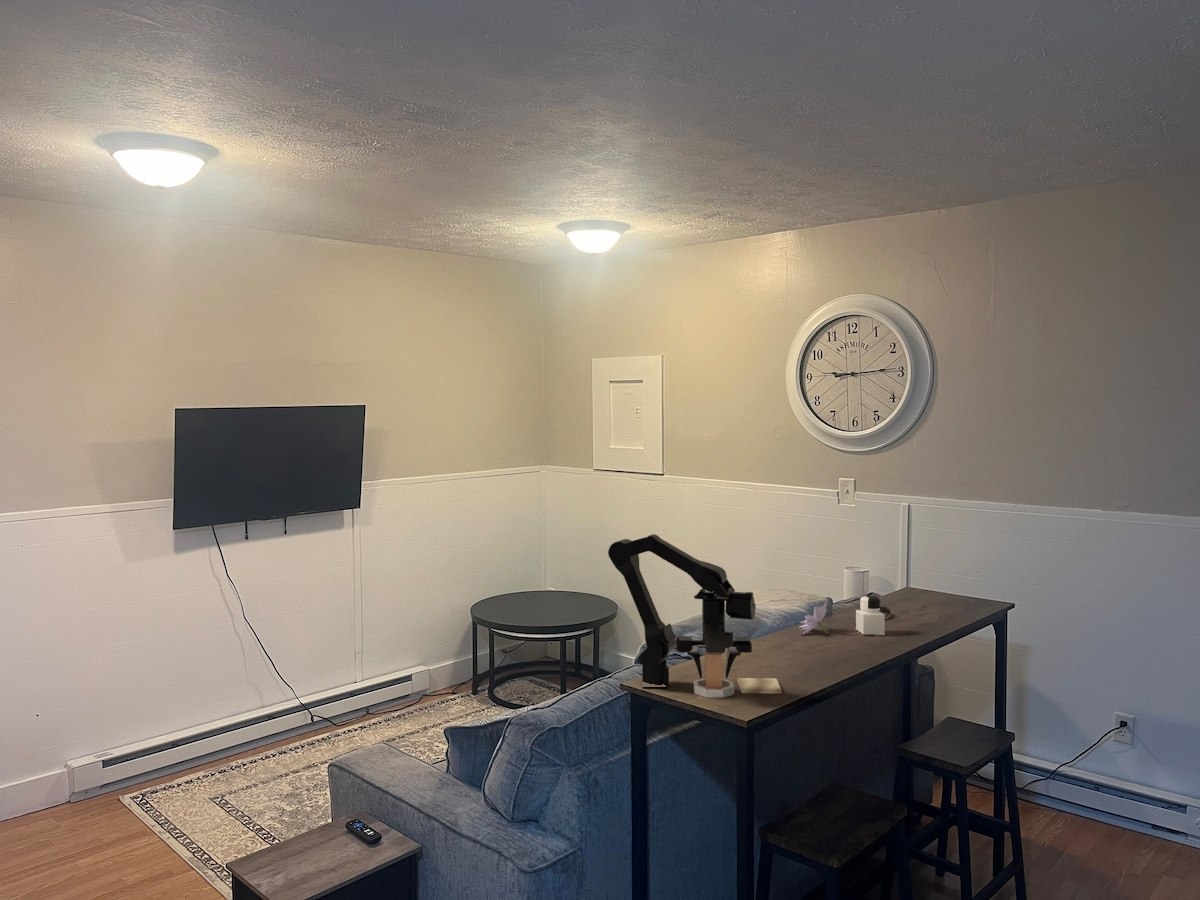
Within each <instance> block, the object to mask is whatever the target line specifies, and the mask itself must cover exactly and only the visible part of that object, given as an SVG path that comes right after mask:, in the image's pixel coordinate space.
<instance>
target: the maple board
mask: <svg viewBox="0 0 1200 900" xmlns="http://www.w3.org/2000/svg"><path fill="white" fill-rule="evenodd" d="M737 683H739V684H738V686H740V687H739V689H740V691H741V694H772V695H773V694H779V695H782V694H783V691H782V687H781V685H780V684H779V682H778V679H777V678H771V677H769V678H768V677H766V678H765V677H761V678H760V677H752V678H751V677H737Z"/></svg>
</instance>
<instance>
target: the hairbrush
mask: <svg viewBox="0 0 1200 900" xmlns="http://www.w3.org/2000/svg"><path fill="white" fill-rule="evenodd" d="M879 611H880V612H881V613H883V614H884V613H887V614H886V616H887V615H889V614H892V613H891V610H890V609H889V608H888V607H887V606H886V605H884V604H883V606H880V610H879Z"/></svg>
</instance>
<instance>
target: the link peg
mask: <svg viewBox="0 0 1200 900" xmlns="http://www.w3.org/2000/svg"><path fill="white" fill-rule="evenodd" d="M704 654H705V655H704V657H705V659H704V660H705V661H704V665H705V667H704V672H705V673H704V675H705V676H704V678H705V688H717V689H722V679H723V653H719V652H712V653H708V652H706V650H704Z"/></svg>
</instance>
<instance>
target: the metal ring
mask: <svg viewBox="0 0 1200 900" xmlns="http://www.w3.org/2000/svg"><path fill="white" fill-rule="evenodd" d="M704 686H705V677H702V678H700V679H696V680H694V681H693V693H695V695H697V694H698V695H697V696H700V697H703V696H704V698H711V699H712V698H713V699H714V698H716V699H719V698H720V699H723V698H728V697H729V696H733V695H735V685H734V682H733V681H731V680H728V679H726V678H722V689H717V688H705V687H704Z"/></svg>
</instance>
